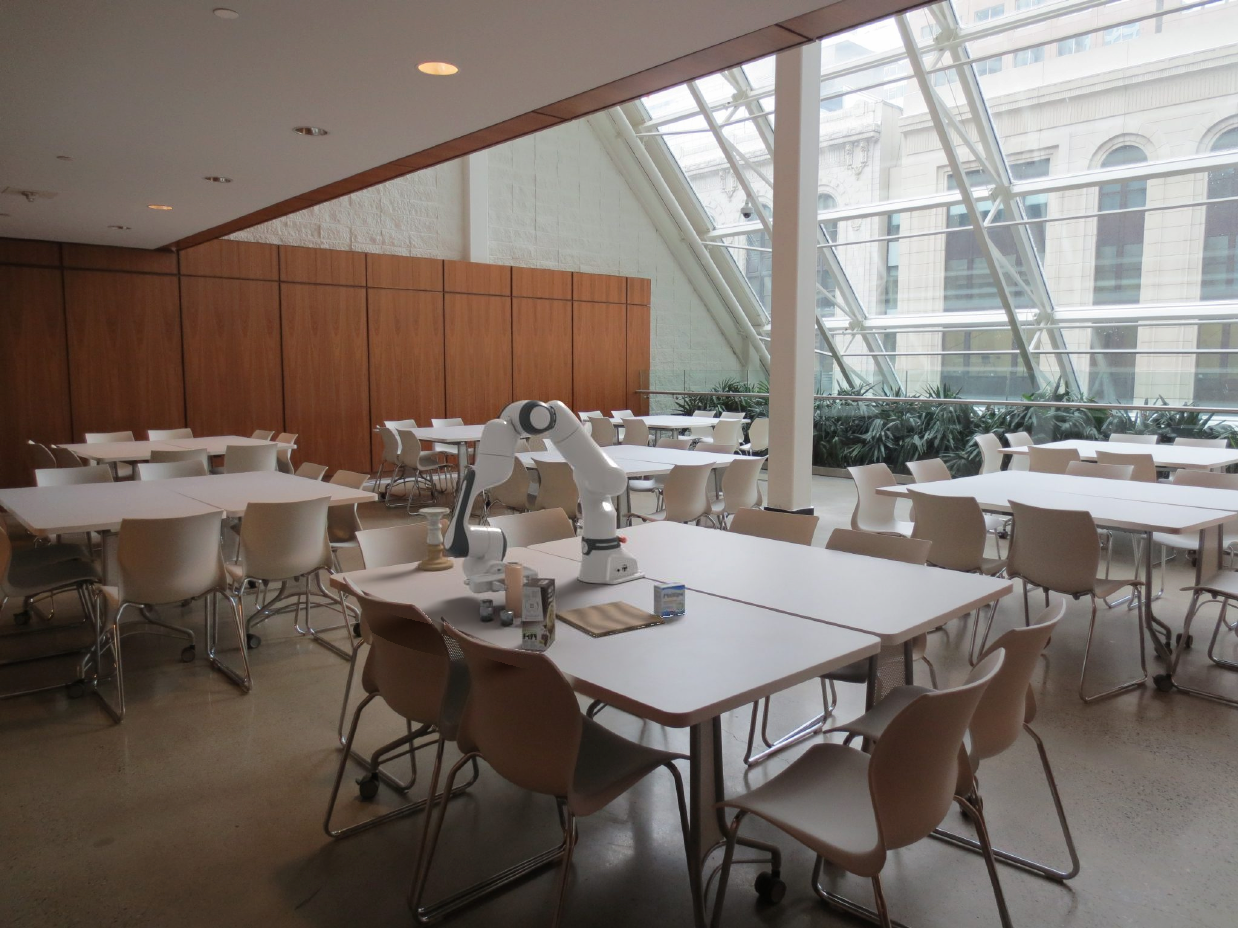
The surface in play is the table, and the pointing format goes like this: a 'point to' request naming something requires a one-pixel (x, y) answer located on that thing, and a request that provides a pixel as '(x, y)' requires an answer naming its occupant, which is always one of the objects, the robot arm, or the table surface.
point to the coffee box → (538, 613)
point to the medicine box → (669, 599)
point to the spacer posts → (487, 613)
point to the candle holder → (434, 541)
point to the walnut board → (608, 618)
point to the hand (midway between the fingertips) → (515, 586)
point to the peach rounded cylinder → (514, 589)
